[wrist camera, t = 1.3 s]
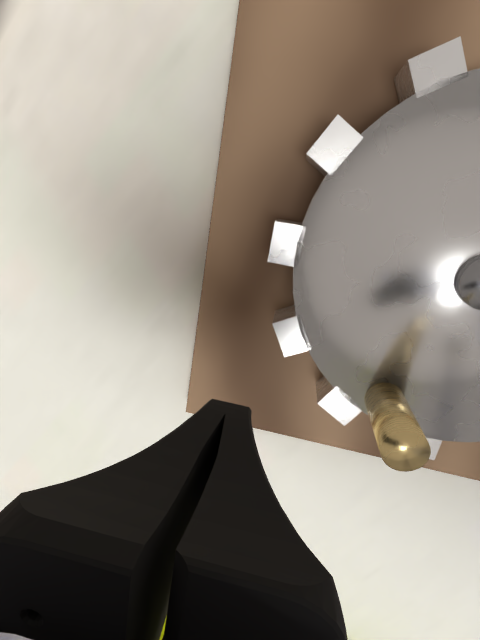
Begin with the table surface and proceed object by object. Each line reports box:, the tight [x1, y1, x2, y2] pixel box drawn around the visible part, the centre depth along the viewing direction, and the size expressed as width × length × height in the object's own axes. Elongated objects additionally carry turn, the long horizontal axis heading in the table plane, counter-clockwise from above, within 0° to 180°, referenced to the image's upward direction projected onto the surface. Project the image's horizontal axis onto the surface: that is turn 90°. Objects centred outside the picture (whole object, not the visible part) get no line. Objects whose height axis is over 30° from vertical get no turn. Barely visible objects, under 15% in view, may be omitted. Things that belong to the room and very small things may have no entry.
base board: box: [186, 0, 480, 481], centre depth 16 cm, size 22×20×1 cm
